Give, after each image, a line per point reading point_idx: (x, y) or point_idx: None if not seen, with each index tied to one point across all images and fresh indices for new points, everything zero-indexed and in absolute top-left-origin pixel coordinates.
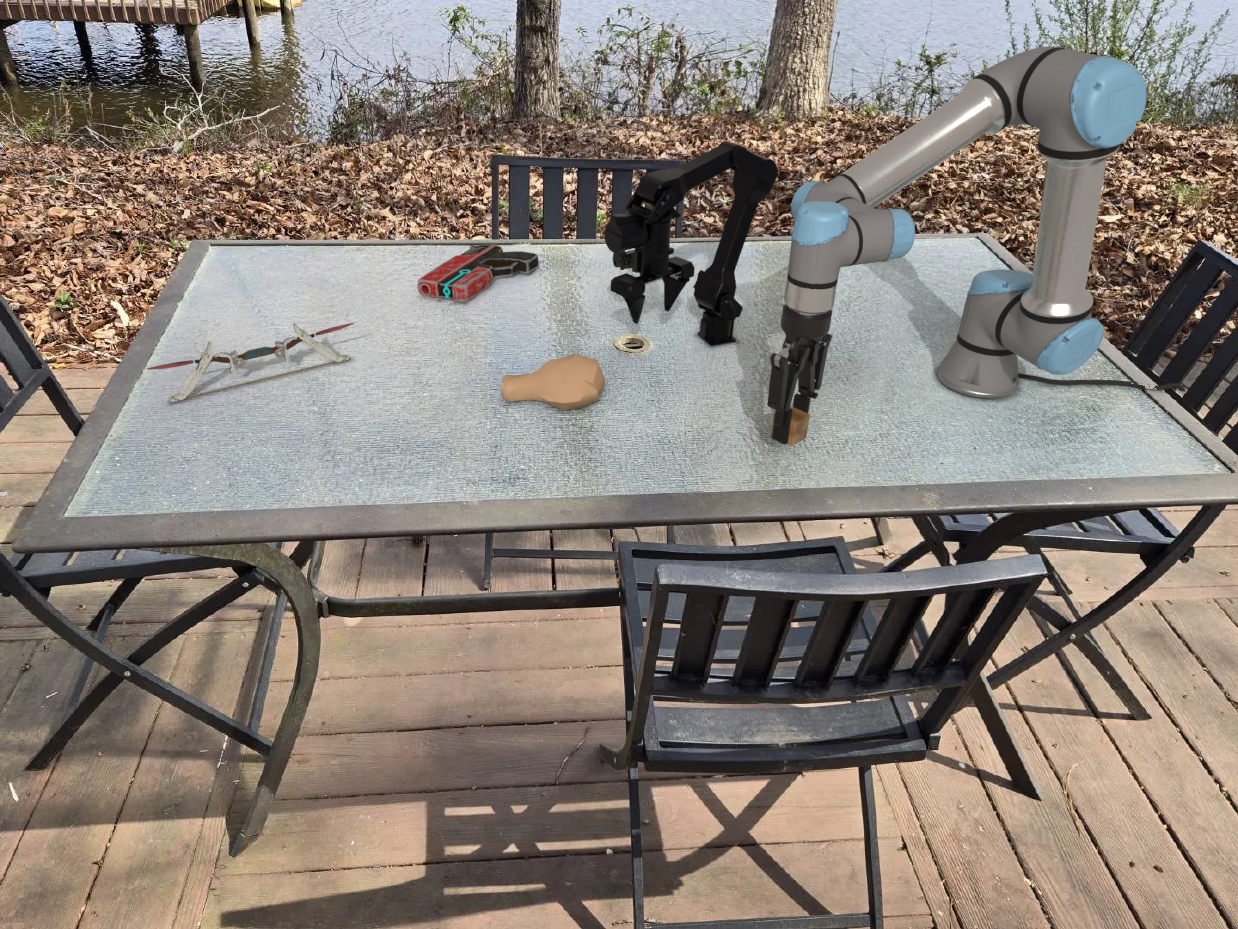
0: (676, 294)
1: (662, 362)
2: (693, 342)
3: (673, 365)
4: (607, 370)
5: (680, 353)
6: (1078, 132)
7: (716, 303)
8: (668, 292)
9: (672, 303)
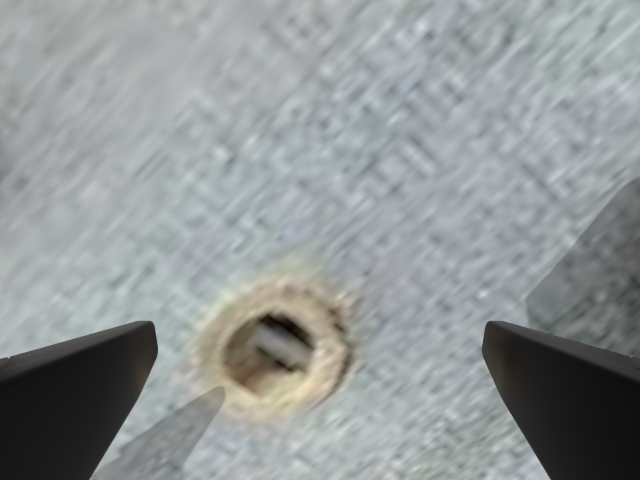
0: (13, 371)
1: (296, 167)
2: (47, 210)
3: (278, 112)
4: (517, 266)
5: (169, 174)
6: None
7: None
8: (59, 457)
9: (97, 338)
